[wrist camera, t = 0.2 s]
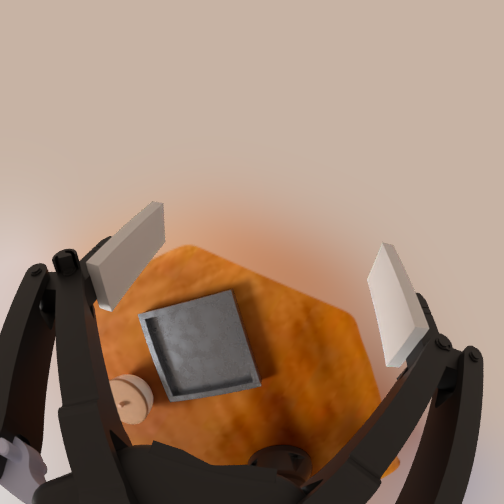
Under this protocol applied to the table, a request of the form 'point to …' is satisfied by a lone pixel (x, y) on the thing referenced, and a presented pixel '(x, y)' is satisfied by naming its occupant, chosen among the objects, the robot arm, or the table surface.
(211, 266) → the table surface
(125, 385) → the lidded jar
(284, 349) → the table surface
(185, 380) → the tray
